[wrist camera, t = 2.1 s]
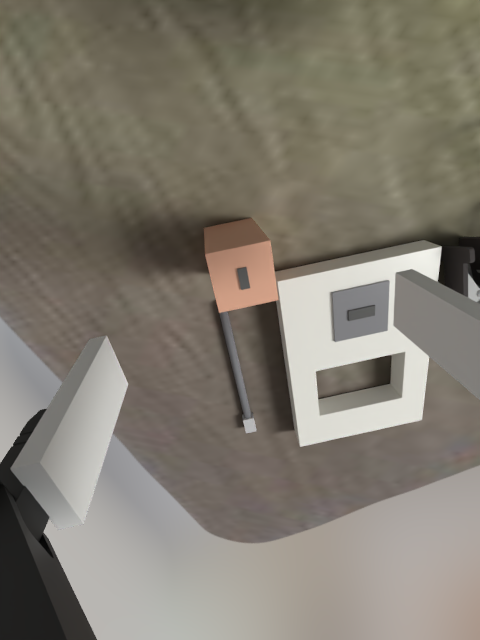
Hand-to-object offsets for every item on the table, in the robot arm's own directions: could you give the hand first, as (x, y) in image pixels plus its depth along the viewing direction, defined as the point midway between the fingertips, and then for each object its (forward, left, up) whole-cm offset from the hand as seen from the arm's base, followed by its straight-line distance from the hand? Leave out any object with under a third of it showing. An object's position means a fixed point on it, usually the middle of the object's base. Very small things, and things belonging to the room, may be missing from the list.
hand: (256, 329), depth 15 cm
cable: (+12, -2, -14) cm, 19 cm away
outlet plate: (+13, +10, -14) cm, 22 cm away
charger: (0, 0, -14) cm, 14 cm away
